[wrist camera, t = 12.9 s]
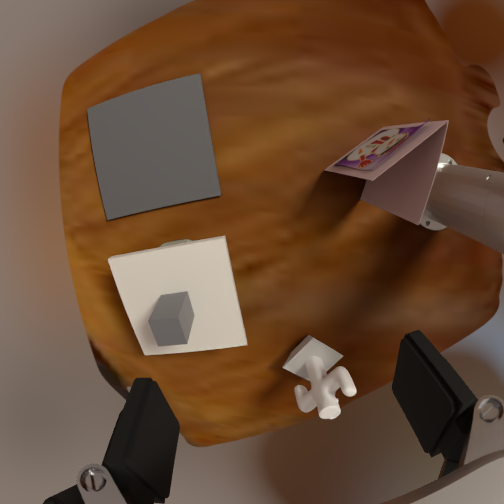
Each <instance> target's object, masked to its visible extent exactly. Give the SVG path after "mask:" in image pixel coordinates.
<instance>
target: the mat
mask: <svg viewBox="0 0 504 504" xmlns="http://www.w3.org/2000/svg"><path fill="white" fill-rule="evenodd" d="M87 113H88V121H89V129H90V136H91V143H92V150H93V156H94V161H95V167H96V172H97V177H98V182H99V187H100V191H101V196H102V200H103V205H104V209H105V213H106V217H107V220H110V219H114V218H118V217H122V216H126V215H130V214H134V213H139V212H143V211H147V210H152V209H156V208H161V207H165V206H170V205H175V204H180V203H184V202H189V201H194V200H199V199H205V198H210V197H215V196H221V190H220V185H219V179H218V174H217V168H216V162H215V157H214V151H213V146H212V140H211V134H210V128H209V122H208V117H207V111H206V105H205V99H204V93H203V87H202V80H201V74H200V73H199V74H195V75H190V76H186V77H182V78H178V79H174V80H170V81H166V82H163V83H159V84H156V85H152V86H149V87H146V88H142V89H139V90H136V91H133V92H130V93H127V94H124V95H121V96H119V97H116V98H113V99H111V100H108V101H105V102H103V103H100V104H98V105H95V106H93V107H90V108H88V109H87Z"/></svg>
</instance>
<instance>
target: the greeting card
mask: <svg viewBox="0 0 504 504" xmlns="http://www.w3.org/2000/svg"><path fill="white" fill-rule="evenodd" d="M429 120H430V119H429ZM429 120H428V121H429ZM428 121H427V122H423V123H414V124H405V125H397V126H389V127H383V128H381V129H380V130H378V131H377V132H376V133H374V134H373V135H371V136H370V137H369V138H367V139H366V140H364V141H363V142H362V143H360V144H359V145H358V146H356V147H355V148H353V149H352V150H351V151H349V152H348V153H347V154H345V155H344V156H342V157H341V158H340V159H338V160H337V161H336V162H334V163H333V164H332V165H330V166H329V167H328V168H326V169H325V170H324V171H330V172H335V173H340V174H344V175H349V176H354V177H358V178H363V179H367V180H366V183H365V186H364V189H363V192H362V195H361V198H360V200H362V201H364V202H367V203H369V204H372V205H374V206H376V207H379V208H381V209H383V210H385V211H388V212H390V213H392V214H394V215H397V216H399V217H401V218H403V219H405V220H408V221H410V222H412V223H414V224H416V225H418V226H419V223H420V220H421V217H422V215H423V212H424V209H425V206H426V203H427V200H428V197H429V194H430V191H431V188H432V184H433V181H434V178H435V174H436V171H437V167H438V164H439V160H440V156H441V152H442V148H443V144H444V140H445V136H446V131H447V126H448V121H435V122H428Z"/></svg>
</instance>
